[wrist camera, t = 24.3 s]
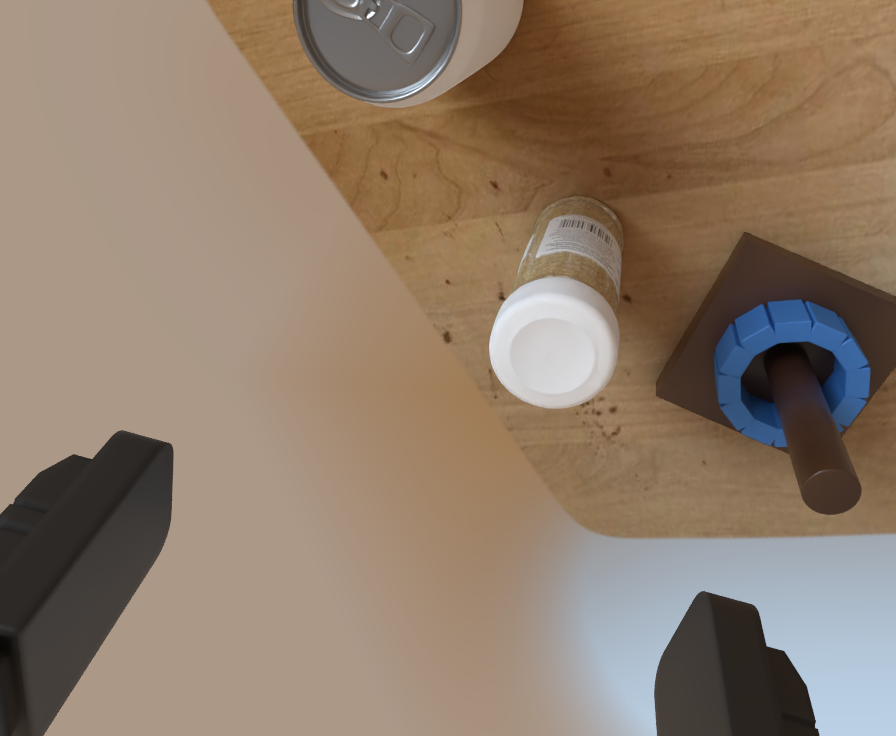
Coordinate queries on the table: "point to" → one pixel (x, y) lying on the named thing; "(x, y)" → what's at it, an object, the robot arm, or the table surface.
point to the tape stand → (787, 360)
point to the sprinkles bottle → (562, 308)
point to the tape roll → (784, 327)
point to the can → (402, 44)
